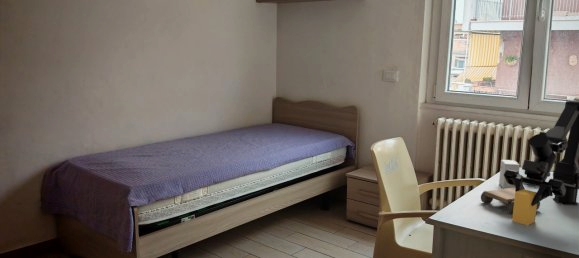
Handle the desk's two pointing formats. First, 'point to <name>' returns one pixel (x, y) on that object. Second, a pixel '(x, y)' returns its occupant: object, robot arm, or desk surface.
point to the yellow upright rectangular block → (524, 207)
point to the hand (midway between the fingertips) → (523, 203)
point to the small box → (505, 166)
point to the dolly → (502, 197)
